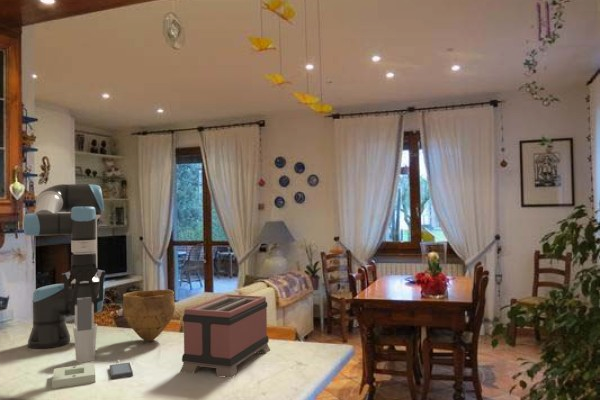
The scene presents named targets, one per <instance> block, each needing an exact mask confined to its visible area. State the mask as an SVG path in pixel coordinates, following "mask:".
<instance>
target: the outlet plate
mask: <svg viewBox="0 0 600 400" xmlns="http://www.w3.org/2000/svg"><path fill="white" fill-rule="evenodd" d="M95 366H96V365H95V363H94V362H93V363H85V364H79V365H72V366H63V367H57V368H54V369H53V375H52V384H51V385H52V387H51V388H52V389H59V388H65V387H72V386H73V387H74V386H77V385H86V384H91V383H96V369H95V368H96V367H95Z"/></svg>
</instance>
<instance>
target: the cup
mask: <svg viewBox="0 0 600 400" xmlns="http://www.w3.org/2000/svg"><path fill="white" fill-rule="evenodd" d="M72 329H73V339H74V348H75V349H74V350H75V362H77V363H86V362H91V361H94V360H95V359H96V355H95V354H96V344H97V332H98V324H97V323H94V324H92V330H83V331H78V330H77V326H75V325H74V326H73V327H72Z"/></svg>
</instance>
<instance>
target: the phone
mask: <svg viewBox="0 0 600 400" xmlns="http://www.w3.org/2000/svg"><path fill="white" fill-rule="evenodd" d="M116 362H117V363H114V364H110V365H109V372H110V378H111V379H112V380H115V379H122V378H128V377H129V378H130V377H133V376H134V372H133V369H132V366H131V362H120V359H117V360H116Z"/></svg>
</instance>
